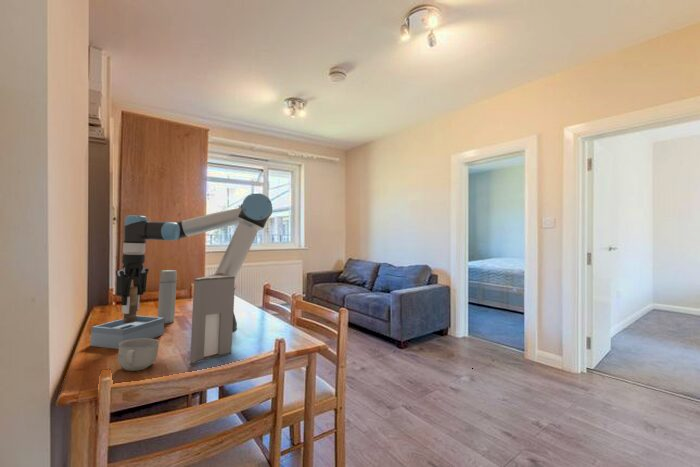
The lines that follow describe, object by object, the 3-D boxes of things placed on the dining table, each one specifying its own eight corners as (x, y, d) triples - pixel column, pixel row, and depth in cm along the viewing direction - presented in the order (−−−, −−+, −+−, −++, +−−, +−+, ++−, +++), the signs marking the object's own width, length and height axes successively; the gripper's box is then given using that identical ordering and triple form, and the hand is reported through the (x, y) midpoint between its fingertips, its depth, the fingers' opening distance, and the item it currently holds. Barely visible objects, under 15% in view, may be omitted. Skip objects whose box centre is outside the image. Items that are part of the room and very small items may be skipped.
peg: (138, 321, 130) (140, 286, 131) (129, 323, 126) (131, 287, 127) (129, 320, 131) (131, 285, 131) (121, 322, 127) (123, 287, 128)
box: (163, 334, 137) (164, 317, 137) (122, 349, 117) (123, 330, 118) (135, 331, 140) (136, 315, 140) (90, 345, 120) (91, 326, 120)
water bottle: (169, 324, 153) (172, 271, 154) (153, 323, 153) (156, 271, 154) (180, 319, 162) (182, 270, 163) (164, 319, 162) (167, 269, 163)
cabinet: (215, 344, 127) (219, 273, 127) (240, 345, 127) (243, 274, 127) (189, 364, 106) (194, 279, 107) (219, 365, 106) (223, 280, 107)
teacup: (130, 360, 107) (131, 336, 107) (164, 361, 108) (165, 337, 108) (101, 378, 93) (103, 350, 93) (140, 378, 94) (142, 351, 94)
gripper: (143, 252, 139) (140, 307, 138) (106, 253, 122) (102, 315, 121) (158, 253, 137) (155, 308, 136) (123, 254, 120) (119, 317, 120)
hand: (130, 311), depth 129 cm, fingers closed on peg, 4 cm apart
